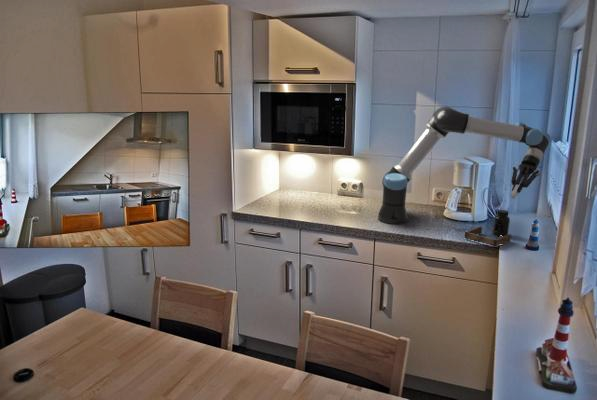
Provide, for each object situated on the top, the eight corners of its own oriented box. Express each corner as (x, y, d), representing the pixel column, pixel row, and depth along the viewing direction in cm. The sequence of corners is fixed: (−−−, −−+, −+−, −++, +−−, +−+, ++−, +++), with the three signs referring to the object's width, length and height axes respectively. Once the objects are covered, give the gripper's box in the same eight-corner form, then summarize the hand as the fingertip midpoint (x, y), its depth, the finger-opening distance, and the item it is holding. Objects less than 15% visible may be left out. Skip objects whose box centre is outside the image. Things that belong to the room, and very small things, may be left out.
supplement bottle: (498, 231, 228) (502, 208, 225) (510, 236, 223) (514, 211, 219) (489, 233, 225) (492, 209, 222) (501, 238, 219) (504, 213, 216)
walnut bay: (464, 239, 217) (465, 232, 216) (479, 233, 226) (480, 226, 225) (495, 248, 206) (496, 240, 205) (510, 241, 215) (511, 234, 214)
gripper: (547, 165, 231) (528, 204, 225) (520, 161, 240) (501, 198, 234) (544, 156, 226) (524, 195, 220) (517, 152, 236) (497, 190, 229)
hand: (512, 196), depth 227 cm, fingers closed
